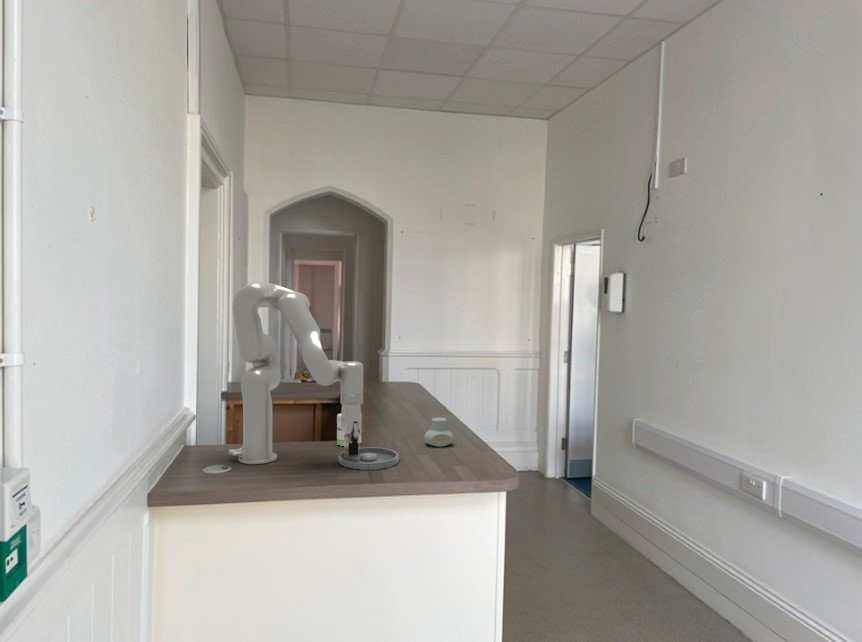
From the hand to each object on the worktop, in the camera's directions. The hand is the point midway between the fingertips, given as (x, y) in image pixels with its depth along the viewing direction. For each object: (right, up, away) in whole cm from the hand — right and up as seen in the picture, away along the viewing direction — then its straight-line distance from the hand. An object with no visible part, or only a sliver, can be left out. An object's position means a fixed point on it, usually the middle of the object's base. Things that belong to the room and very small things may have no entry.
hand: (351, 452), depth 196 cm
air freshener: (+30, -3, +26) cm, 39 cm away
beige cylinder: (0, -1, 0) cm, 1 cm away
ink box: (-4, -3, +24) cm, 25 cm away
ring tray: (+6, -4, +2) cm, 7 cm away
